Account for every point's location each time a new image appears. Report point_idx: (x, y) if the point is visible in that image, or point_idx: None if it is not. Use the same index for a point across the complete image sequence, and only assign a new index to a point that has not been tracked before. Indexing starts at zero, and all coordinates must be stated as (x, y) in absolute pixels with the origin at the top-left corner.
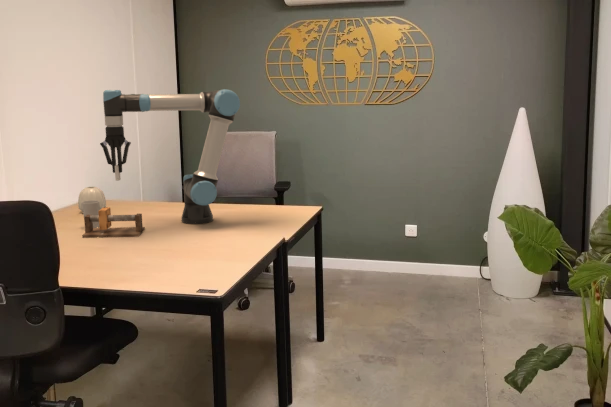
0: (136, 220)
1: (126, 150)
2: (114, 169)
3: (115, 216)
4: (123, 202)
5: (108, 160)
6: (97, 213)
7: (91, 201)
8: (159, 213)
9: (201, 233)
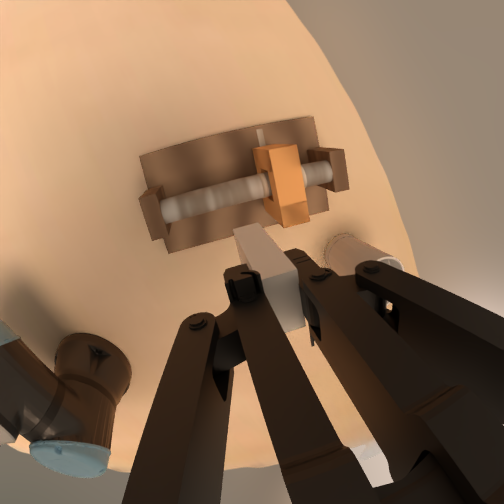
0: (153, 191)
1: (137, 480)
2: (293, 263)
3: (237, 183)
4: (346, 441)
5: (391, 279)
6: (342, 266)
7: None
8: (233, 410)
9: (5, 237)
